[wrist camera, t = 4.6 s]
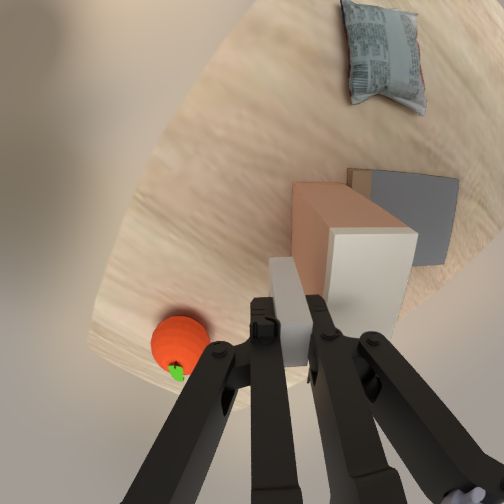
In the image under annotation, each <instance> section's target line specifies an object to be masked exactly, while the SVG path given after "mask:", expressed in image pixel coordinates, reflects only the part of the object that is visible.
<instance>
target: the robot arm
mask: <svg viewBox="0 0 504 504" xmlns="http://www.w3.org/2000/svg"><path fill="white" fill-rule="evenodd" d="M250 309H251V322H250V337H249V339H248V340H247V341H246V342H244V343H242V344H239V345H236V346H233V345H231V344H230V343H228V342H225V341H216V342H212V343H210V344H209V345H207V346H206V348H205V349H204V351H203V353H202V354H201V356H200V358H199V360H198V362H197V364H196V366H195V367H194V369H193V371H192V373H191V375H190V377H189V379H188V381H187V382H186V384H185V386H184V388H183V390H182V392H181V394H180V395H179V397H178V399H177V401H176V403H175V405H174V407H173V409H172V411H171V412H170V414H169V416H168V418H167V420H166V422H165V423H164V425H163V428H162V429H161V431H160V433H159V435H158V437H157V438H156V440H155V442H154V444H153V446H152V448H151V449H150V451H149V453H148V455H147V457H146V459H145V461H144V462H143V464H142V466H141V468H140V470H139V472H138V473H137V475H136V477H135V479H134V481H133V483H132V484H131V486H130V488H129V490H128V492H127V494H126V496H125V497H124V499H123V501H122V502H121V503H120V504H195V502H196V500H197V497H198V495H199V492H200V490H201V487H202V485H203V482H204V480H205V477H206V475H207V472H208V470H209V467H210V464H211V462H212V460H213V457H214V454H215V452H216V449H217V447H218V444H219V441H220V439H221V436H222V433H223V431H224V428H225V425H226V423H227V420H228V417H229V415H230V412H231V409H232V406H233V404H234V401H235V398H236V395H237V393H238V389H239V388H243V387H246V386H250V385H251V477H252V478H251V483H252V484H251V485H252V486H251V504H303V499H302V492H301V488H300V486H299V484H298V478H297V469H296V461H295V452H294V443H293V434H292V426H291V417H290V409H289V402H288V393H287V385H286V377H285V369H284V367H296V366H307V364H308V360H309V364H310V367H309V373H308V379H307V383H309V382H311V387H312V392H313V398H314V403H315V408H316V413H317V418H318V424H319V429H320V435H321V440H322V446H323V451H324V457H325V463H326V469H327V475H328V481H329V487H330V494H331V498H330V504H407V500H406V497H405V493H404V489H403V486H402V482H401V479H400V476H399V473H398V471H397V470H396V469H395V468H392V467H390V466H389V465H388V463H387V460H386V457H385V453H384V450H383V447H382V443H381V441H380V437H379V434H378V431H377V428H376V425H375V422H374V419H373V417H374V418H375V420H376V421H377V423H378V424H379V426H380V427H381V429H382V430H383V432H384V433H385V435H386V436H387V438H388V439H389V441H390V442H391V444H392V446H393V447H394V449H395V450H396V452H397V453H398V455H399V456H400V458H401V459H402V461H403V462H404V464H405V465H406V467H407V468H408V470H409V471H410V473H411V474H412V476H413V478H414V479H415V481H416V482H417V484H418V485H419V487H420V488H421V490H422V491H423V492H424V494H425V495H426V497H427V498H428V499H430V501H431V502H432V503H433V504H501V503H503V502H504V464H502V463H500V462H498V461H497V460H495V459H493V458H492V457H490V456H488V455H486V454H485V453H484V452H483V451H482V450H481V448H480V447H479V446H478V445H477V443H476V442H475V441H474V440H473V438H472V437H471V436H470V434H469V433H468V432H467V431H466V429H465V428H464V427H463V426H462V425H461V423H460V422H459V421H458V420H457V418H456V417H455V416H454V415H453V414H452V412H451V411H450V410H449V409H448V408H447V407H446V405H445V404H444V403H443V402H442V401H441V400H440V398H439V397H438V396H437V395H436V393H435V392H434V391H433V390H432V389H431V388H430V387H429V385H428V384H427V383H426V382H425V381H424V380H423V379H422V377H421V376H420V375H419V374H418V373H417V372H416V370H415V369H414V368H413V367H412V366H411V365H410V364H409V363H408V361H407V360H406V359H405V358H404V357H403V356H402V355H401V354H400V353H399V351H398V350H397V349H396V348H395V347H394V346H393V345H392V344H391V343H390V342H389V340H388V339H387V338H386V337H385V336H384V335H382V334H381V333H379V332H376V331H367V332H365V333H363V334H362V335H361V336H360V338H352V337H347V336H344V335H343V333H342V332H341V331H340V330H339V329H338V328H336V327H335V325H334V323H333V320H332V318H331V315H330V312H329V311H328V307H327V305H326V302H325V300H324V299H323V298H322V297H321V296H320V295H319V294H314V295H305V294H304V291H303V288H302V284H301V281H300V278H299V275H298V272H297V268H296V265H295V262H294V259H293V257H269V297H259V298H254V299H253V300H252V302H251V303H250ZM372 415H373V416H372Z"/></svg>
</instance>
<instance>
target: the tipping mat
mask: <svg viewBox="0 0 504 504" xmlns="http://www.w3.org/2000/svg"><path fill="white" fill-rule="evenodd" d="M459 181H460V180H459V179H453V178H446V177H439V176H432V175H423V174H415V173H405V172H394V171H383V170H369V169H352V168H348V172H347V186H348V187H350V188H351V189H353V190H355V191H356V192H358V193H359V194H361V195H363V196H364V197H366V198H367V199H369V200H370V201H372V202H374V203H375V204H377V205H378V206H380V207H381V208H383V209H384V210H386V211H387V212H389V213H390V214H391V215H393V216H394V217H396V218H397V219H399V220H400V221H402V222H403V223H404V224H406V225H407V226H409V227H410V228H411V229H413V230H414V231H416V232H417V233H418V239H417V244H416V249H415V254H414V258H413V263H412V266H427V265H441V264H444V262H445V258H446V254H447V250H448V246H449V241H450V237H451V232H452V227H453V222H454V216H455V210H456V204H457V197H458V189H459Z"/></svg>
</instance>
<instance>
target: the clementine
mask: <svg viewBox="0 0 504 504" xmlns="http://www.w3.org/2000/svg"><path fill="white" fill-rule="evenodd" d="M209 344H210V339H209V336H208V334H207V332H206V330H205V329H204V327H203V326H202V325H201V324H200V323H198V322H197V321H195V320H193V319H191V318H189V317H184V316H173V317H170V318H167V319H166V320H164V321H163V322H161V323H160V324H159V325H158V326H157V328H156V329H155V330H154V332H153V335H152V339H151V350H152V354H153V357H154V359H155V360H156V362H157V363H158V364H159V366H160V367H161V368H163V369H164V370H166V371H167V372H169V373H170V374H171V375H172V377H173V378H174V379H175V380H177V381H184V378H183V375H189V374H191V373H192V371H193V369H194V367H195V366H196V364H197V362H198V360H199V358H200V356H201V354H202V353H203V351H204V349H205V348H206V346H207V345H209Z"/></svg>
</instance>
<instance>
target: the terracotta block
mask: <svg viewBox="0 0 504 504" xmlns="http://www.w3.org/2000/svg"><path fill="white" fill-rule="evenodd" d="M417 239H418V233H417V232H416V231H414V230H413V229H411V228H410V227H409V226H407V225H406V224H404V223H403V222H402V221H400V220H399V219H397V218H396V217H394V216H393V215H391V214H390V213H389V212H387V211H386V210H384V209H383V208H381V207H380V206H378V205H377V204H375V203H374V202H372V201H370V200H369V199H367V198H366V197H364V196H363V195H361V194H359V193H358V192H356V191H355V190H353V189H351V188H350V187H348V186H347V185H345V184H343V183H327V182H293V190H292V242H291V257H293V259H294V262H295V265H296V268H297V272H298V275H299V278H300V281H301V284H302V288H303V291H304V294H305V295H314V294H319V295H320V296H321V297H322V298H323V299H324V300H325V302H326V305H327V307H328V311H329V312H330V315H331V318H332V320H333V323H334V325H335V327H336V328H338V329H339V330H340V331H341V332H342V333H343V335H344V336H347V337H352V338H360V336H361V335H362V334H363V333H365V332H367V331H376V332H379V333H381V334H382V335H384V336H385V337H386V338H387V339H388V340H389V342H390V340H391V337H392V334H393V331H394V328H395V325H396V322H397V319H398V316H399V312H400V309H401V306H402V302H403V299H404V295H405V291H406V288H407V284H408V280H409V276H410V272H411V267H412V263H413V258H414V254H415V249H416V244H417Z"/></svg>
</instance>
